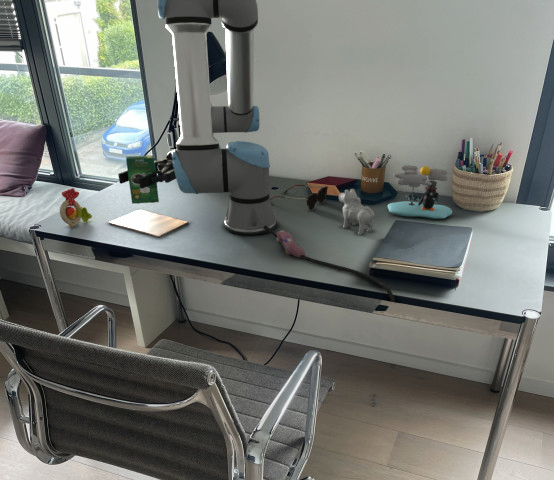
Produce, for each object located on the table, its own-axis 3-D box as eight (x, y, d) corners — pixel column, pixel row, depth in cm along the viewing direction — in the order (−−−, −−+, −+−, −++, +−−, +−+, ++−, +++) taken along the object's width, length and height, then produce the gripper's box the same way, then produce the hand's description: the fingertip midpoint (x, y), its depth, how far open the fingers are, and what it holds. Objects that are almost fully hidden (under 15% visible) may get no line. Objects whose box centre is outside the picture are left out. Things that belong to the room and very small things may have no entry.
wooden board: (188, 223, 170) (188, 221, 170) (159, 237, 161) (158, 236, 161) (139, 210, 179) (139, 209, 178) (109, 223, 170) (109, 222, 170)
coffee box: (159, 199, 168) (153, 154, 160) (160, 202, 166) (154, 156, 158) (132, 201, 167) (125, 155, 159) (132, 204, 164) (124, 158, 157)
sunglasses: (307, 213, 177) (307, 197, 174) (264, 206, 184) (263, 191, 181) (328, 200, 186) (328, 185, 183) (286, 194, 194) (285, 180, 191)
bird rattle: (81, 235, 168) (97, 214, 172) (62, 206, 159) (80, 185, 163) (65, 231, 170) (82, 211, 174) (46, 203, 161) (64, 182, 165)
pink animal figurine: (281, 250, 157) (270, 230, 153) (295, 242, 157) (284, 221, 153) (292, 265, 150) (281, 244, 145) (307, 256, 149) (296, 235, 145)
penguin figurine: (452, 212, 177) (461, 162, 168) (450, 224, 169) (459, 173, 160) (389, 205, 182) (395, 157, 174) (383, 216, 174) (389, 166, 165)
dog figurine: (345, 219, 172) (347, 184, 166) (375, 232, 164) (379, 195, 158) (332, 223, 170) (334, 188, 164) (362, 236, 162) (366, 199, 155)
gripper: (209, 178, 172) (158, 201, 156) (160, 167, 180) (107, 187, 165) (207, 153, 167) (155, 173, 152) (157, 143, 176) (102, 161, 161)
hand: (130, 181), depth 158 cm, fingers closed on coffee box, 7 cm apart
